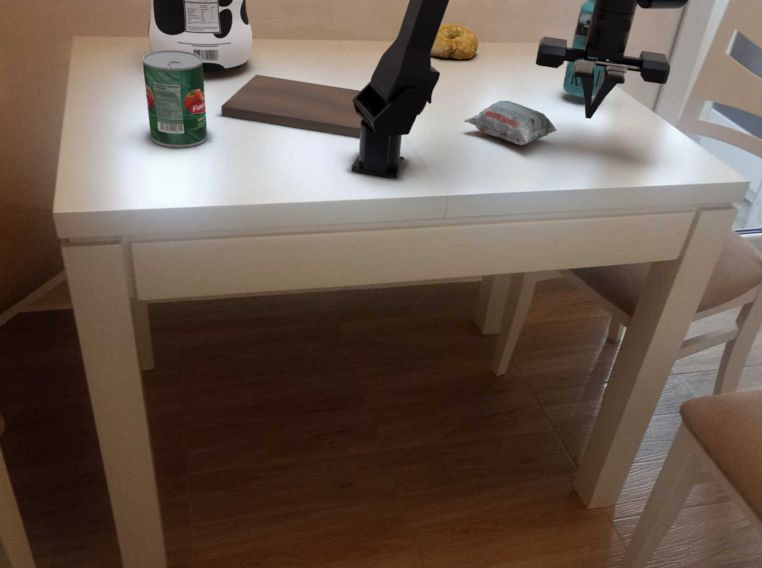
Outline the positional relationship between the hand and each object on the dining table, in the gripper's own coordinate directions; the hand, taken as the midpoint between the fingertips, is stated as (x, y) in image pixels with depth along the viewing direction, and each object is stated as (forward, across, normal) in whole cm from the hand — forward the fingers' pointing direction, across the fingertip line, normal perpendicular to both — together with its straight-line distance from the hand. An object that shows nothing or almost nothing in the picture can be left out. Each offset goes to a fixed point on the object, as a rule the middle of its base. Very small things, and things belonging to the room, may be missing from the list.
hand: (587, 117), depth 117 cm
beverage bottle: (+5, 0, -24) cm, 25 cm away
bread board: (+5, +44, +1) cm, 44 cm away
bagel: (+5, +26, -40) cm, 48 cm away
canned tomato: (+6, +57, +19) cm, 61 cm away
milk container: (+6, +66, -12) cm, 68 cm away
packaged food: (+5, +11, 0) cm, 13 cm away
